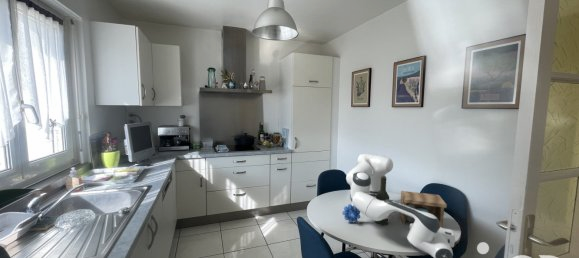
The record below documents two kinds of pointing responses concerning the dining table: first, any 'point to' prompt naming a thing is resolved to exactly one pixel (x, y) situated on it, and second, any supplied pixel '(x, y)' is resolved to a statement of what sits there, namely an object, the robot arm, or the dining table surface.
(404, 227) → the dining table surface
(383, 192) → the wine bottle
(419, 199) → the cubby
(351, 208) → the blue knobby ball
